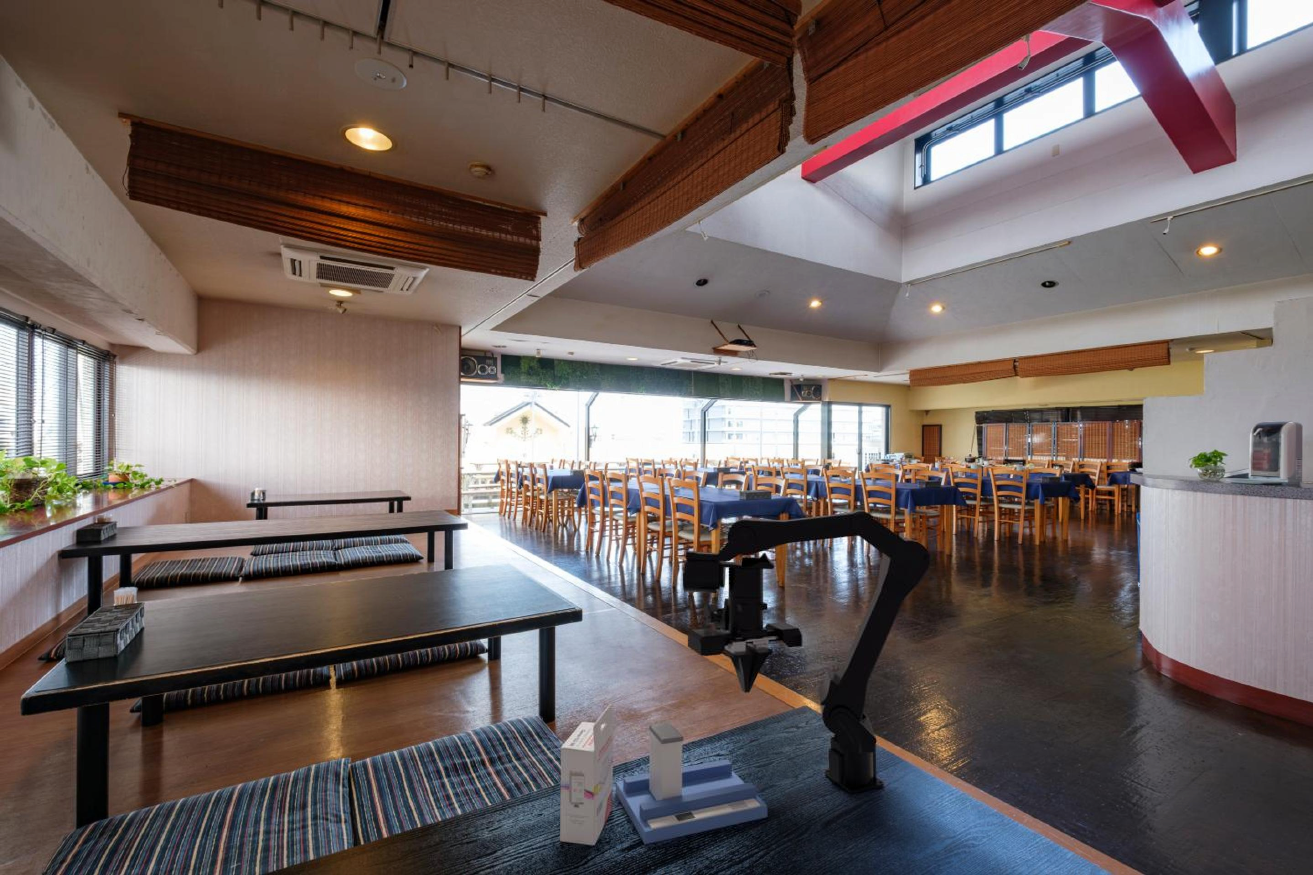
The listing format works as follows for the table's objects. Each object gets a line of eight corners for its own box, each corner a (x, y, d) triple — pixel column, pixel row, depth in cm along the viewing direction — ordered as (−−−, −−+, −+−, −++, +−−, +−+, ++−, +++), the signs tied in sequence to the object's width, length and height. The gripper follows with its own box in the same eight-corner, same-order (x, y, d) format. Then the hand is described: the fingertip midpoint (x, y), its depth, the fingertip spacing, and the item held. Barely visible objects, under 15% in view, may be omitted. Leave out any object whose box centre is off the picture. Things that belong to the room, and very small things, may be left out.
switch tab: (668, 785, 84) (669, 721, 84) (682, 803, 79) (683, 736, 80) (648, 789, 83) (649, 724, 83) (661, 808, 78) (661, 739, 78)
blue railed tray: (723, 772, 91) (723, 752, 91) (767, 816, 79) (767, 794, 79) (615, 792, 85) (616, 771, 85) (644, 844, 73) (645, 819, 73)
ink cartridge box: (579, 805, 81) (581, 698, 82) (613, 809, 80) (614, 701, 81) (557, 842, 73) (560, 722, 74) (594, 847, 72) (596, 726, 73)
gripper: (768, 583, 105) (768, 670, 104) (675, 589, 99) (674, 681, 98) (804, 595, 95) (805, 691, 94) (702, 601, 89) (702, 705, 87)
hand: (745, 691), depth 93 cm, fingers closed
